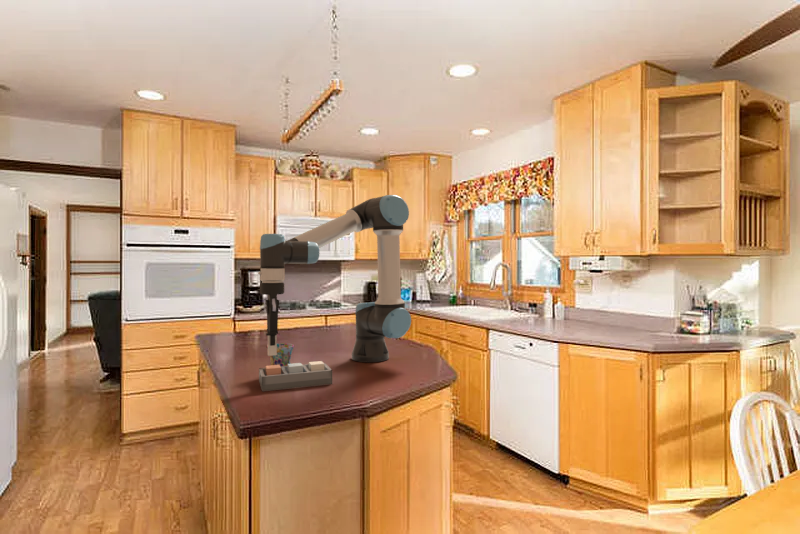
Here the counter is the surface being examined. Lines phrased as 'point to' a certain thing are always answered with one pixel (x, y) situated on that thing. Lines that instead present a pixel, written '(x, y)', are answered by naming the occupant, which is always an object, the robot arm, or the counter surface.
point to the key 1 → (273, 370)
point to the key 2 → (316, 366)
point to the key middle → (295, 368)
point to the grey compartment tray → (294, 378)
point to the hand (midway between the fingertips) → (272, 355)
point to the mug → (282, 354)
